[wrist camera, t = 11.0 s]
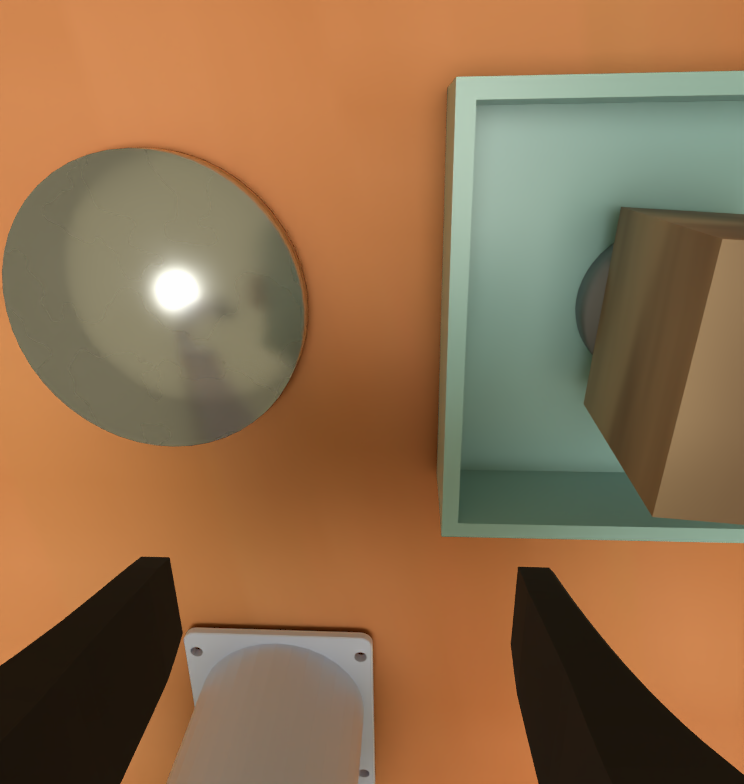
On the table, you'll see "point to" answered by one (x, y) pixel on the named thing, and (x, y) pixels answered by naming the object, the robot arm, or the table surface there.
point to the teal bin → (558, 285)
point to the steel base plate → (155, 295)
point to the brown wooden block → (671, 358)
